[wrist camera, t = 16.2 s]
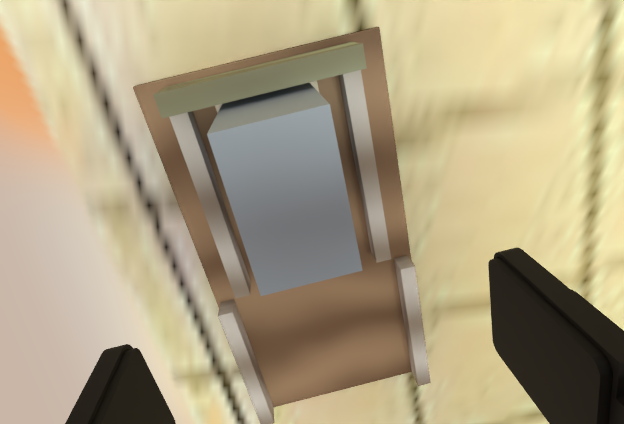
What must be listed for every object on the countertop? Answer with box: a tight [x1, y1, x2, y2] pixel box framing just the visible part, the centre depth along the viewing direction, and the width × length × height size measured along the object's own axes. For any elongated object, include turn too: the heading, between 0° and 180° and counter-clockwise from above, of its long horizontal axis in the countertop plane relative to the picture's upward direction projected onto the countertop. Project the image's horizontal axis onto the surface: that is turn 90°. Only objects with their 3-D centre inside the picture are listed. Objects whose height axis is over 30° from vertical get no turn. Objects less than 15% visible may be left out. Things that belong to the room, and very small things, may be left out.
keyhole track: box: [133, 27, 431, 424], centre depth 27 cm, size 26×14×3 cm, turn 13°
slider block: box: [207, 83, 363, 296], centre depth 22 cm, size 8×5×8 cm, turn 13°
